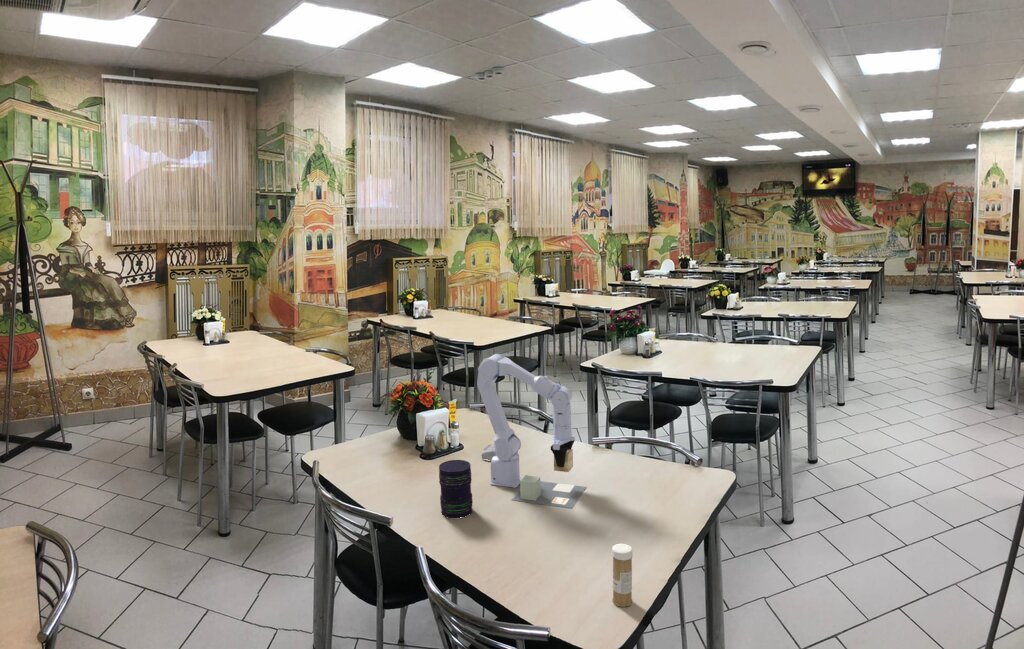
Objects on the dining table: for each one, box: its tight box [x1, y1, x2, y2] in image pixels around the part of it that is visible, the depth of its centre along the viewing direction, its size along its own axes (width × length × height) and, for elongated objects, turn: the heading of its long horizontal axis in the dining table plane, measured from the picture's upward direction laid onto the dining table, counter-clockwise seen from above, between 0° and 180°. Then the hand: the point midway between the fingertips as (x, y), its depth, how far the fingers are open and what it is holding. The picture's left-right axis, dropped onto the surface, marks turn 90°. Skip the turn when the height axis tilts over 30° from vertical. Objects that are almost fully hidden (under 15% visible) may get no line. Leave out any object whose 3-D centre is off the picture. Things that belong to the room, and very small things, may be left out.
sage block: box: [519, 475, 541, 501], centre depth 206 cm, size 5×5×6 cm
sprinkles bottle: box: [611, 543, 633, 608], centre depth 146 cm, size 5×5×14 cm
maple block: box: [553, 448, 574, 473], centre depth 211 cm, size 5×5×6 cm
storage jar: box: [438, 459, 474, 519], centre depth 196 cm, size 10×10×15 cm
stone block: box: [481, 443, 497, 460], centre depth 244 cm, size 12×5×10 cm
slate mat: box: [511, 480, 587, 509], centre depth 208 cm, size 20×17×1 cm
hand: (563, 463), depth 211 cm, fingers closed on maple block, 5 cm apart
